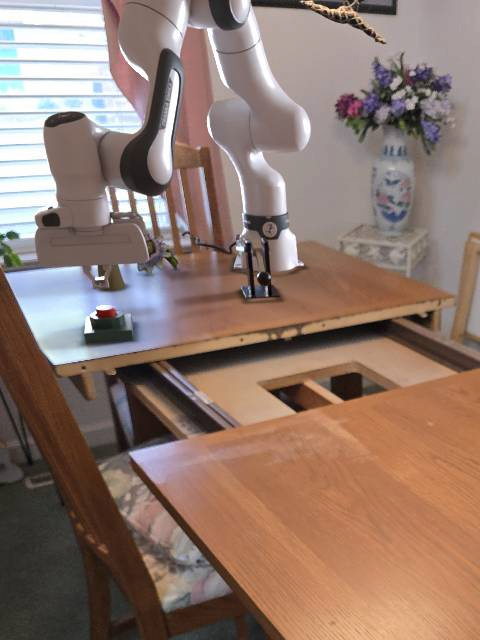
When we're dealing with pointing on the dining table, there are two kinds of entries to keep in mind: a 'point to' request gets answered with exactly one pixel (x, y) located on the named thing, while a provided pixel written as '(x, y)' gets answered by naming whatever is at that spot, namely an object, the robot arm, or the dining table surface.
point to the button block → (108, 328)
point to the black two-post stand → (251, 289)
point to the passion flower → (157, 254)
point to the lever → (260, 263)
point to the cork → (112, 278)
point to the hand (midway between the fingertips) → (101, 287)
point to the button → (105, 311)
